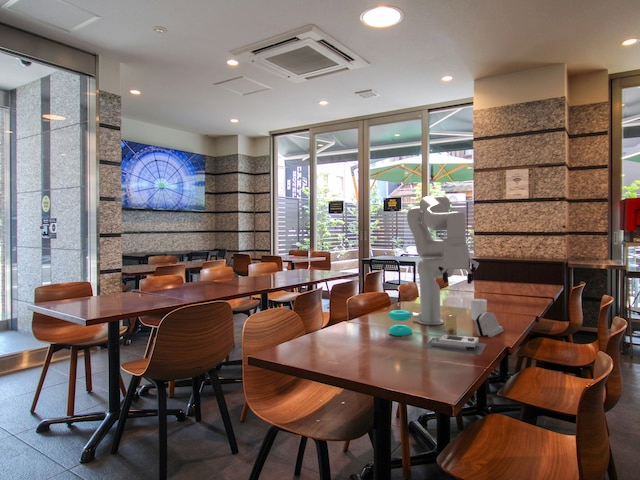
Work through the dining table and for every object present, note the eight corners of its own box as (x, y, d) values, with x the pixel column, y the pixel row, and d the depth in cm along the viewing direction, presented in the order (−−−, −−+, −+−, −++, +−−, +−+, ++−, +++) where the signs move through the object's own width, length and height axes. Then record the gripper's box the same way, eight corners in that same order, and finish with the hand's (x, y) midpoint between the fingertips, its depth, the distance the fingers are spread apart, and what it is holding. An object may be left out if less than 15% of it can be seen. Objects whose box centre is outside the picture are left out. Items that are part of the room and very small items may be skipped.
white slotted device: (489, 338, 170) (481, 314, 172) (479, 340, 173) (471, 317, 175) (504, 330, 182) (496, 308, 184) (494, 332, 185) (486, 311, 187)
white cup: (488, 318, 207) (488, 299, 207) (485, 321, 201) (485, 301, 201) (472, 317, 212) (472, 298, 211) (468, 320, 205) (468, 300, 205)
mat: (422, 349, 156) (422, 347, 156) (432, 339, 170) (432, 338, 170) (480, 356, 146) (480, 354, 146) (486, 345, 160) (486, 343, 160)
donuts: (410, 314, 173) (386, 313, 177) (410, 337, 174) (387, 336, 177) (412, 310, 183) (390, 309, 186) (413, 332, 183) (391, 330, 186)
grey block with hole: (431, 346, 158) (430, 337, 158) (436, 340, 166) (436, 332, 166) (474, 351, 150) (474, 341, 150) (478, 345, 158) (478, 336, 158)
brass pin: (445, 340, 168) (445, 316, 168) (447, 337, 172) (447, 314, 172) (455, 341, 166) (455, 316, 166) (457, 338, 170) (457, 315, 170)
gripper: (432, 242, 171) (433, 283, 171) (475, 241, 161) (476, 284, 161) (439, 242, 177) (440, 281, 177) (480, 241, 167) (481, 282, 167)
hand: (457, 282), depth 169 cm, fingers open, 9 cm apart
